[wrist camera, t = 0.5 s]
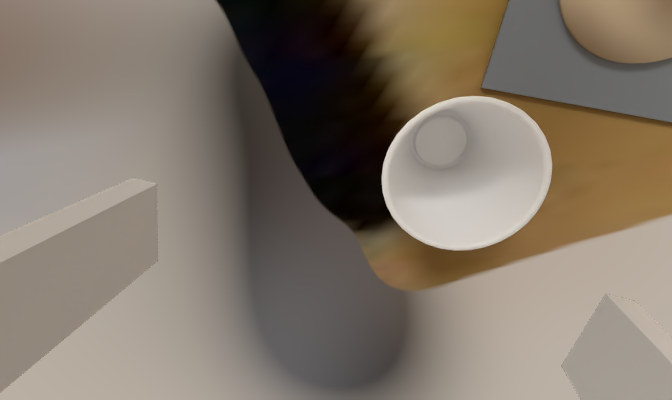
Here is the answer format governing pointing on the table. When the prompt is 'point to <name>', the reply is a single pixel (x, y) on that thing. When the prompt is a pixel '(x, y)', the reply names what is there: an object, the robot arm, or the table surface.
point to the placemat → (571, 67)
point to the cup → (466, 173)
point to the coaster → (621, 28)
